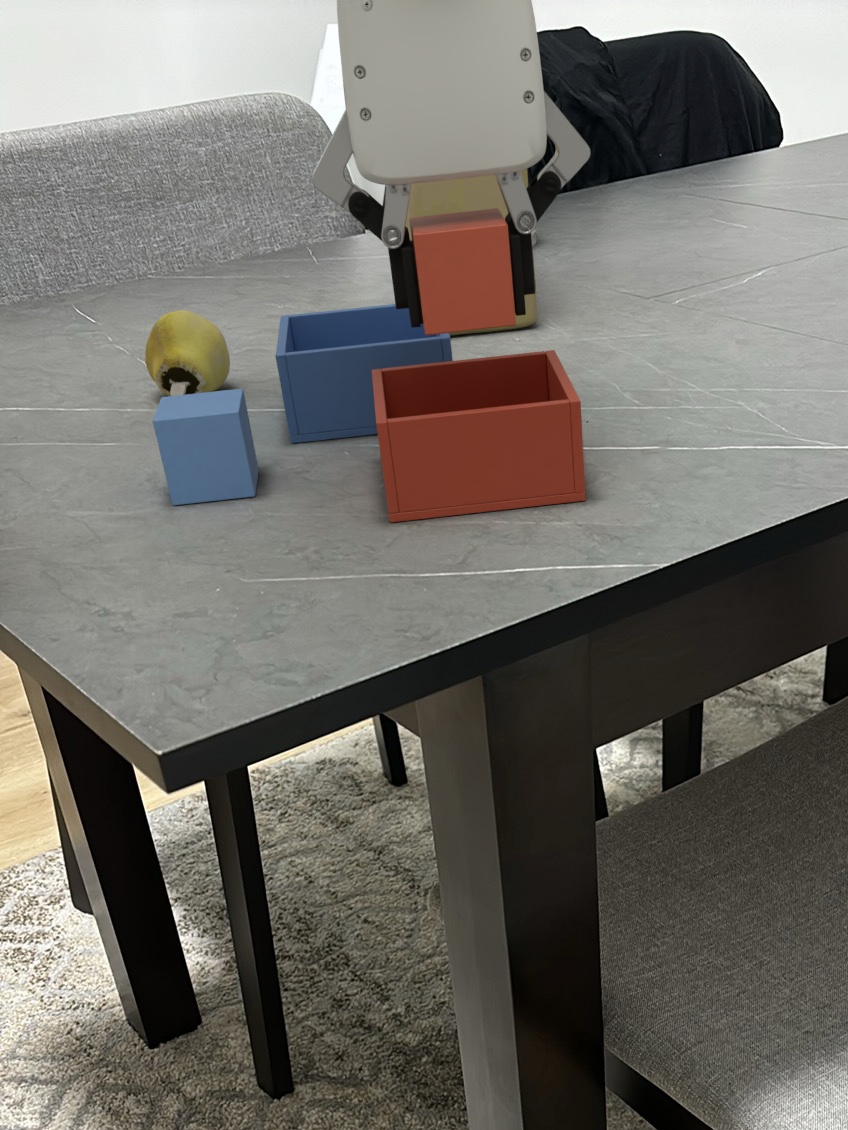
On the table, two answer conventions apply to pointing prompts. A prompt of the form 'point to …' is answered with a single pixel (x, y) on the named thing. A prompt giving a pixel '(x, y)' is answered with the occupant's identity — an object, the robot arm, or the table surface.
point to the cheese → (463, 199)
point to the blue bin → (345, 366)
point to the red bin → (478, 435)
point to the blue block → (206, 446)
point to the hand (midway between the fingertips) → (466, 312)
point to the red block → (463, 271)
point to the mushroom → (186, 354)
